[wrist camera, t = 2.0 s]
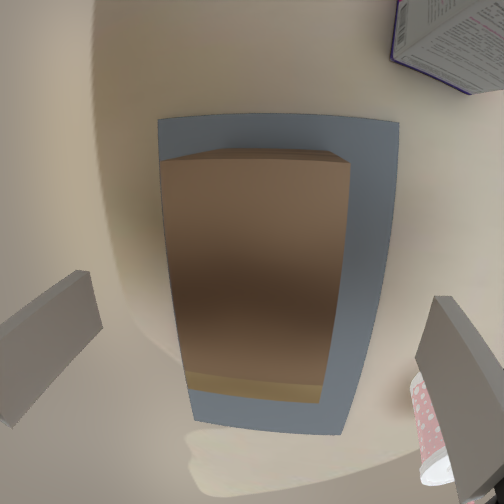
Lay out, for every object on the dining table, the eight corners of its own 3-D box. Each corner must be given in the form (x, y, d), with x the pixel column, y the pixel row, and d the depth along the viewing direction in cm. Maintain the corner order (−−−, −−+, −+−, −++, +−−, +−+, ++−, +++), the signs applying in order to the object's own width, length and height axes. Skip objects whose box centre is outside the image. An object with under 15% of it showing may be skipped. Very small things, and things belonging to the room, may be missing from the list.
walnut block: (221, 148, 17) (159, 161, 9) (329, 151, 16) (350, 163, 9) (227, 303, 20) (188, 388, 13) (317, 310, 20) (318, 403, 12)
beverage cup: (476, 366, 20) (531, 494, 7) (431, 410, 22) (460, 537, 9) (435, 344, 20) (494, 501, 7) (387, 394, 22) (408, 544, 9)
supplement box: (471, 98, 13) (607, 90, 3) (387, 61, 14) (487, -17, 3) (478, 25, 11) (586, -24, 1) (397, -13, 11) (466, -115, 1)
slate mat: (161, 119, 17) (157, 119, 17) (396, 122, 15) (399, 122, 15) (195, 416, 27) (194, 420, 26) (340, 431, 25) (340, 435, 24)
